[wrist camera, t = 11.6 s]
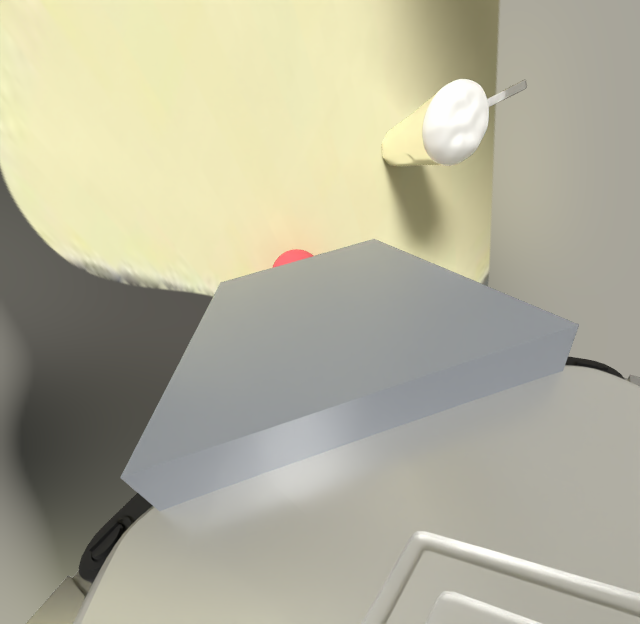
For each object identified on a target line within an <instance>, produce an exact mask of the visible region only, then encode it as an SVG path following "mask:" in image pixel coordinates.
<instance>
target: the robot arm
mask: <svg viewBox="0 0 640 624" xmlns="http://www.w3.org/2000/svg"><path fill="white" fill-rule="evenodd" d="M26 624H640V377H637V376H632V375H630V376H629V378H628V379H627V378H623V377H622V375H621V374H620V373H618V372H617V371H616V370H615V369H613V368H611V367H609V366H607V365H605V364H602V363H599V362H596V361H592V360H587V359H581V358H573V357H568V358H567V361H566V364H565V367H564V370H563V371H562V372H558V373H555V374H552V375H549V376H546V377H543V378H540V379H537V380H534V381H531V382H528V383H525V384H522V385H518V386H515V387H512V388H510V389H507V390H504V391H501V392H498V393H495V394H492V395H489V396H486V397H483V398H480V399H477V400H474V401H471V402H468V403H465V404H462V405H459V406H456V407H453V408H450V409H447V410H444V411H442V412H439V413H436V414H433V415H430V416H427V417H424V418H421V419H418V420H415V421H412V422H410V423H407V424H404V425H401V426H398V427H395V428H392V429H389V430H386V431H383V432H380V433H378V434H375V435H372V436H369V437H366V438H363V439H360V440H357V441H355V442H352V443H349V444H346V445H343V446H340V447H337V448H335V449H332V450H329V451H326V452H323V453H320V454H318V455H315V456H312V457H309V458H306V459H303V460H300V461H298V462H295V463H292V464H289V465H286V466H283V467H281V468H278V469H275V470H272V471H269V472H266V473H264V474H261V475H258V476H255V477H253V478H250V479H247V480H244V481H242V482H239V483H236V484H233V485H230V486H228V487H225V488H222V489H219V490H216V491H213V492H211V493H208V494H205V495H203V496H200V497H197V498H194V499H192V500H189V501H186V502H183V503H181V504H178V505H175V506H173V507H170V508H167V509H165V510H162V511H159V510H157V509H156V508H155V507H154V506H153V505H152V504H150V503H149V502H148V501H147V500H146V499H145V498H143V497H142V496H141V495H140V494H139V493H137V494H136V495H135V496H134V497H133V498H132V499H131V500H130V501H129V502H128V503H127V504H126V505H125V506H124V507H123V508H122V509H121V510H120V511H119V512H118V513H116V514H115V516H113V517H112V518H111V519H110V520H109V521H108V522H107V523H106V524H105V525H104V526H103V527H102V528H101V529H100V530H99V532H98V533H97V534H96V535H95V536H94V538H93V539H92V540H91V542H90V543H89V544H88V546H87V548H86V550H85V552H84V554H83V555H82V558H81V561H80V565H79V571H78V572H77V573H76V574H75V575H74V577H73V578H72V577H70V576H67V577H66V578H65V580H64V581H63V582H62V583H61V584H60V585H59V587H58V588H57V589H56V590H55V591H54V592H53V593H52V594H51V595H50V597H49V598H48V599H47V600H46V601H45V602H44V603H43V605H42V606H41V607H40V608H39V609H38V610H37V611H36V612H35V614H34V615H33V616H32V617H31V618H30V619H29V620H28V622H27V623H26Z"/></svg>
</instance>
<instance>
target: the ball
mask: <svg viewBox="0 0 640 624" xmlns="http://www.w3.org/2000/svg"><path fill="white" fill-rule="evenodd" d="M309 257H313V255H312V254H310V253H309V252H307V251H304V250H290V251H287V252H285V253H283V254H282V255H281V256H279V257H278V259H277V260H276V261H275V263H274V265H273V268H274V267H277V266H281V265H284V264H288V263H291V262H295V261H298V260H302V259H306V258H309Z"/></svg>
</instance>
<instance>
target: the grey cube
mask: <svg viewBox="0 0 640 624" xmlns="http://www.w3.org/2000/svg"><path fill="white" fill-rule="evenodd" d="M578 326H579V324H576V323H574V322H571V321H569V320H567V319H564V318H562V317H560V316H557V315H555V314H552V313H550V312H547V311H545V310H543V309H540V308H538V307H536V306H533V305H531V304H528V303H526V302H524V301H521V300H519V299H517V298H514V297H512V296H509V295H507V294H505V293H502V292H500V291H497V290H495V289H492V288H490V287H488V286H485V285H483V284H481V283H478V282H476V281H474V280H471V279H469V278H466V277H464V276H462V275H459V274H457V273H454V272H452V271H450V270H447V269H445V268H442V267H440V266H438V265H435V264H433V263H430V262H428V261H426V260H423V259H421V258H419V257H416V256H414V255H411V254H409V253H407V252H404V251H402V250H399V249H397V248H395V247H392V246H390V245H387V244H385V243H383V242H380V241H378V240H375V239H372V240H369V241H365V242H362V243H358V244H355V245H351V246H348V247H344V248H341V249H337V250H334V251H330V252H327V253H323V254H320V255H316V256H313V257H309V258H306V259H302V260H298V261H295V262H291V263H288V264H284V265H281V266H277V267H274V268H270V269H267V270H263V271H260V272H256V273H253V274H249V275H246V276H242V277H239V278H235V279H232V280H228V281H225V282H221V283H220V285H219V287H218V289H217V291H216V293H215V294H214V296H213V298H212V300H211V302H210V304H209V306H208V308H207V310H206V312H205V314H204V316H203V318H202V320H201V322H200V324H199V326H198V328H197V330H196V331H195V333H194V335H193V337H192V339H191V341H190V343H189V345H188V347H187V349H186V351H185V353H184V355H183V357H182V359H181V361H180V363H179V365H178V367H177V368H176V371H175V372H174V375H173V376H172V378H171V380H170V382H169V384H168V386H167V388H166V390H165V392H164V394H163V396H162V398H161V400H160V402H159V404H158V406H157V407H156V409H155V411H154V413H153V415H152V417H151V419H150V421H149V423H148V425H147V427H146V429H145V431H144V433H143V435H142V437H141V439H140V441H139V443H138V445H137V446H136V448H135V450H134V452H133V454H132V456H131V458H130V460H129V462H128V464H127V466H126V468H125V470H124V472H123V474H122V476H121V479H122V480H123V481H125V482H126V483H127V484H128V485H129V486H131V487H132V488H133V489H134V490H135V491H136V492H138V493H139V494H140V495H141V496H142V497H143V498H145V499H146V500H147V501H148V502H149V503H150V504H152V505H153V506H154V507H155V508H156V509H157V510H159V511H162V510H165V509H167V508H170V507H173V506H175V505H178V504H181V503H183V502H186V501H189V500H192V499H194V498H197V497H200V496H203V495H205V494H208V493H211V492H213V491H216V490H219V489H222V488H225V487H228V486H230V485H233V484H236V483H239V482H242V481H244V480H247V479H250V478H253V477H255V476H258V475H261V474H264V473H266V472H269V471H272V470H275V469H278V468H281V467H283V466H286V465H289V464H292V463H295V462H298V461H300V460H303V459H306V458H309V457H312V456H315V455H318V454H320V453H323V452H326V451H329V450H332V449H335V448H337V447H340V446H343V445H346V444H349V443H352V442H355V441H357V440H360V439H363V438H366V437H369V436H372V435H375V434H378V433H380V432H383V431H386V430H389V429H392V428H395V427H398V426H401V425H404V424H407V423H410V422H412V421H415V420H418V419H421V418H424V417H427V416H430V415H433V414H436V413H439V412H442V411H444V410H447V409H450V408H453V407H456V406H459V405H462V404H465V403H468V402H471V401H474V400H477V399H480V398H483V397H486V396H489V395H492V394H495V393H498V392H501V391H504V390H507V389H510V388H512V387H515V386H518V385H522V384H525V383H528V382H531V381H534V380H537V379H540V378H543V377H546V376H549V375H552V374H555V373H558V372H562V371H563V370H564V367H565V364H566V361H567V358H568V355H569V352H570V349H571V347H572V343H573V341H574V337H575V335H576V332H577V329H578Z"/></svg>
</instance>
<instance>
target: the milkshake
mask: <svg viewBox="0 0 640 624" xmlns="http://www.w3.org/2000/svg"><path fill="white" fill-rule="evenodd" d="M526 87H527V86H526V80H523V81H521V82H519V83H517V84H515V85H513V86H511V87H509V88H507V89H505V90H503V91H502V92H500V93H498V94H496V95H494V96H492V97H490V98H488V99H487V97H486V95H485V92H484V90H483V88H482V87H481V86H480V85H479V84H478V83H476V82H474V81H472V80H468V79H458V80H455V81H452V82H450V83H449V84H447V85H445V86H444V87H443V88H441V89H440V90H439V91H438V92H437V93H435V94H434V95H433V96H432V97H431V98H429V99H428V100H427V101H426V102H425V103H423V104H422V105H421V106H420V107H419V108H418V109H416V110H415V111H414V112H413V113H412V114H410V115H409V116H408V117H406V118H405V119H404V120H402V121H401V122H400V123H398V124H397V125H396V126H394V127H393V128H392V129H390V130H389V131H388V132H387V133H386V135H385V137H384V140H383V142H382V156H383V158H384V159H385V161H386V162H387V163H388V164H389V165H391V166H399V167H400V166H418V165H445V166H451V165H455V164H458V163H460V162H462V161H463V160H465V159H467V158H468V157H469V156H471V155H472V154H473V153H474V152H475V151H476V149H477V148H478V146H479V144H480V142H481V140H482V138H483V136H484V134H485V132H486V130H487V127H488V120H489V107H490V106H492V105H494V104H496V103H498V102H500V101H502V100H504V99H506V98H508V97H510V96H512V95H514V94H516V93H518V92H520V91H522V90H524V89H526Z"/></svg>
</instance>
